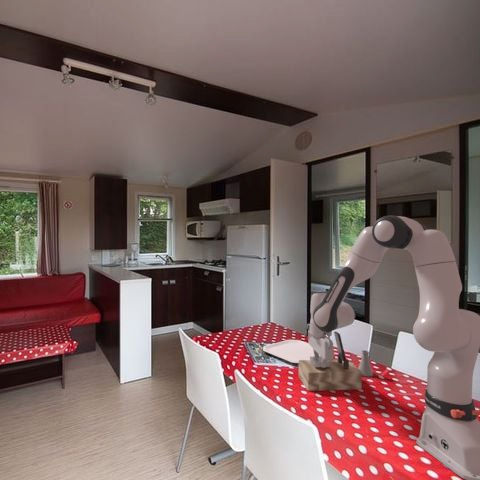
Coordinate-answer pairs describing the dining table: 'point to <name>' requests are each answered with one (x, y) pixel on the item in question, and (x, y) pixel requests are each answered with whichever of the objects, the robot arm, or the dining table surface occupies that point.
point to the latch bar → (339, 346)
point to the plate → (290, 350)
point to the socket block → (330, 375)
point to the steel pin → (318, 362)
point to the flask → (365, 364)
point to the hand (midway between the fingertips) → (319, 363)
